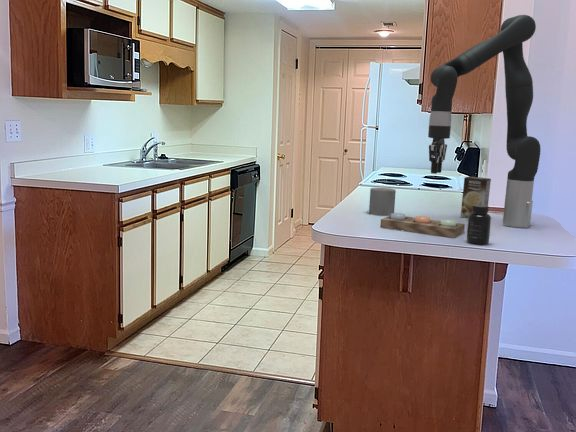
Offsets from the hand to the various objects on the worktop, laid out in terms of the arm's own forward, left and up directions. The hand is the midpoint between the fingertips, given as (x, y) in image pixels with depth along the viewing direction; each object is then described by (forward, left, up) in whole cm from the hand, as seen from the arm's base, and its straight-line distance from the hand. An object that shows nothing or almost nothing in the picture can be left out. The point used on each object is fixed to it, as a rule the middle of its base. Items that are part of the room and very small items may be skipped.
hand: (436, 172), depth 207 cm
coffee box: (-8, -28, -19) cm, 35 cm away
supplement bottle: (-21, +19, -19) cm, 34 cm away
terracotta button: (0, +11, -18) cm, 21 cm away
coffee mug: (+25, -12, -19) cm, 34 cm away
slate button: (+9, +11, -18) cm, 23 cm away
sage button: (-9, +11, -18) cm, 23 cm away
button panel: (0, +11, -19) cm, 22 cm away
